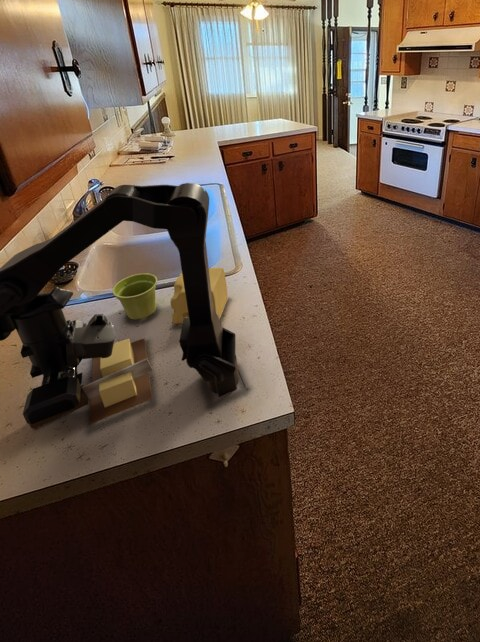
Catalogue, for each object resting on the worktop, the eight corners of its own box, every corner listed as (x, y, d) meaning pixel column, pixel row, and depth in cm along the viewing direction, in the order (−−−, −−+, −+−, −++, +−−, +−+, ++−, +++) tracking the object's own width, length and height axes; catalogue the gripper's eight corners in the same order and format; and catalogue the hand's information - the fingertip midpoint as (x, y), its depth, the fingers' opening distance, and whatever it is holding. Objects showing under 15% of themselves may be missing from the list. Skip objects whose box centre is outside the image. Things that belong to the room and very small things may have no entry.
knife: (33, 430, 57) (24, 418, 56) (35, 417, 59) (27, 406, 58) (153, 374, 65) (147, 363, 63) (151, 365, 67) (146, 354, 65)
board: (153, 403, 63) (151, 398, 63) (91, 429, 59) (89, 424, 58) (145, 342, 77) (144, 338, 76) (94, 359, 72) (93, 355, 72)
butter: (135, 373, 68) (130, 358, 66) (105, 384, 65) (99, 369, 64) (133, 353, 72) (129, 338, 71) (105, 362, 70) (100, 347, 69)
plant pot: (171, 304, 88) (165, 275, 85) (147, 330, 80) (139, 299, 77) (139, 299, 90) (131, 271, 87) (112, 324, 82) (102, 294, 78)
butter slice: (136, 395, 63) (131, 379, 62) (104, 407, 61) (98, 391, 59) (136, 386, 65) (131, 371, 63) (104, 399, 63) (99, 382, 61)
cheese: (173, 327, 81) (165, 292, 77) (190, 298, 91) (184, 265, 87) (218, 327, 81) (213, 292, 77) (230, 298, 91) (225, 265, 87)
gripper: (103, 350, 50) (129, 423, 56) (105, 283, 65) (125, 347, 71) (4, 383, 45) (43, 460, 51) (30, 303, 60) (58, 369, 66)
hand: (74, 400), depth 60 cm, fingers closed on knife, 2 cm apart
